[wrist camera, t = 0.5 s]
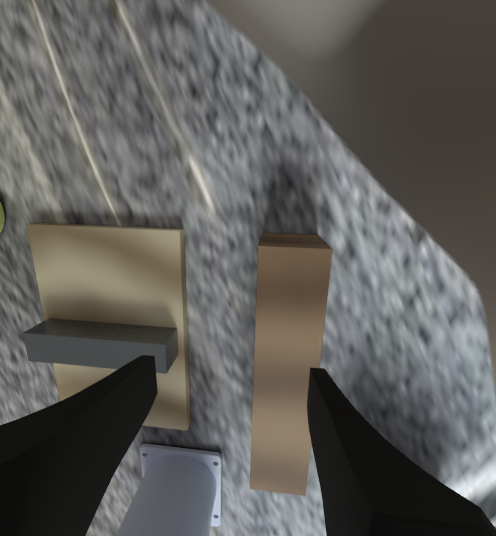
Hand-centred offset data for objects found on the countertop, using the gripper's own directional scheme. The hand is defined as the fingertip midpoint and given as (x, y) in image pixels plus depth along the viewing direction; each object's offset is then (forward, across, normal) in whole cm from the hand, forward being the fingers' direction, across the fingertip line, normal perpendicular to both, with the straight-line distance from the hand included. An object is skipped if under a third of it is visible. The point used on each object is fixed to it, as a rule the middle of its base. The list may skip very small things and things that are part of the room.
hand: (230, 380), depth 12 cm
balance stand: (+10, +11, +3) cm, 15 cm away
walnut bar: (+10, -3, +4) cm, 11 cm away
